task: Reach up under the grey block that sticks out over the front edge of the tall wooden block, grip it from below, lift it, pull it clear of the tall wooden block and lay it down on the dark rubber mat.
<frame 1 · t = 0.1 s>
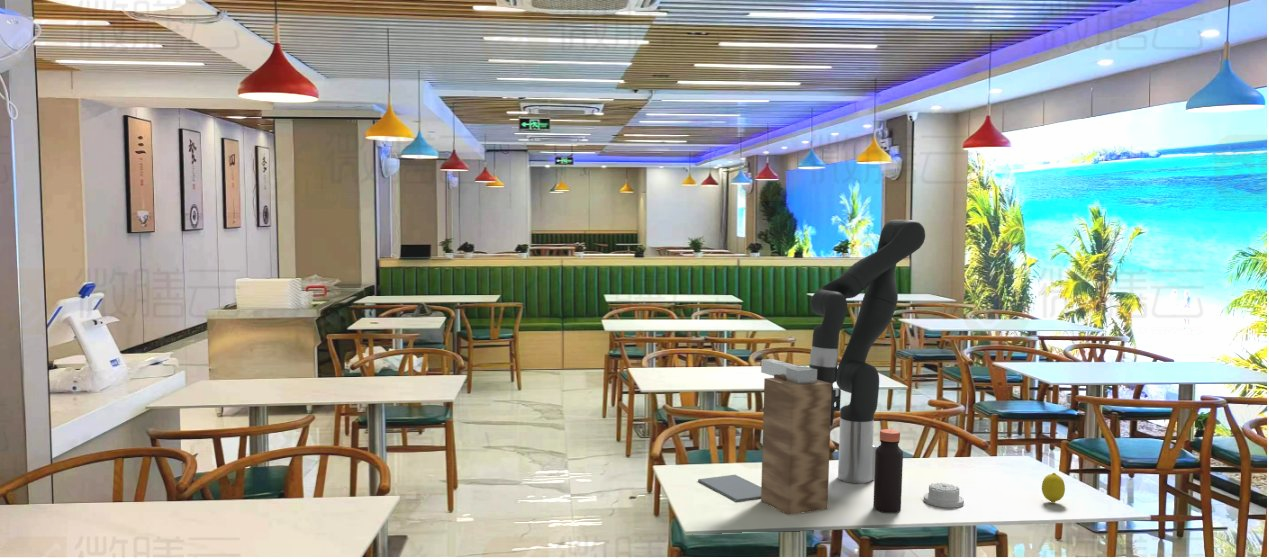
hand: (818, 422, 262), 17 cm above the table, tool pointing down, fingers open, 8 cm apart
bottle: (886, 509, 243), on the table
grey cake on plate: (943, 503, 250), on the table
tall wooden block: (793, 505, 244), on the table
mat: (736, 488, 258), on the table
lemon: (1052, 503, 250), on the table
grey block: (786, 377, 247), point 32 cm above the table, touching tall wooden block
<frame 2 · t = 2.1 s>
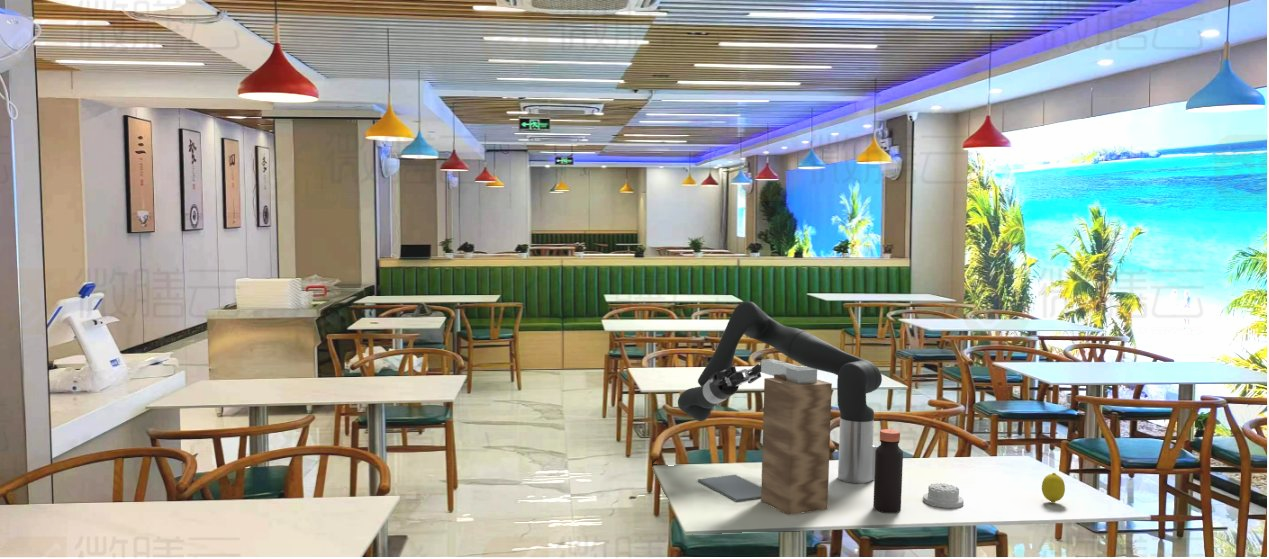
hand: (747, 368, 266), 31 cm above the table, tool pointing upward, fingers open, 8 cm apart
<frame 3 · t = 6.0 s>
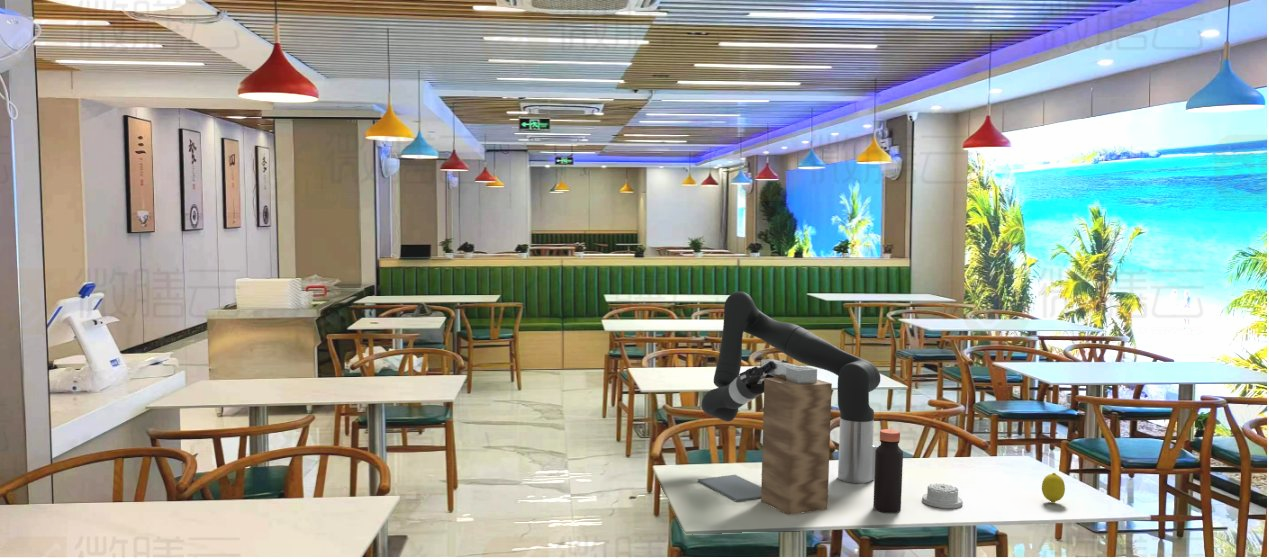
hand: (779, 363, 249), 35 cm above the table, tool pointing upward, fingers closed on grey block, 3 cm apart
grey block: (786, 377, 247), point 32 cm above the table, touching gripper, tall wooden block
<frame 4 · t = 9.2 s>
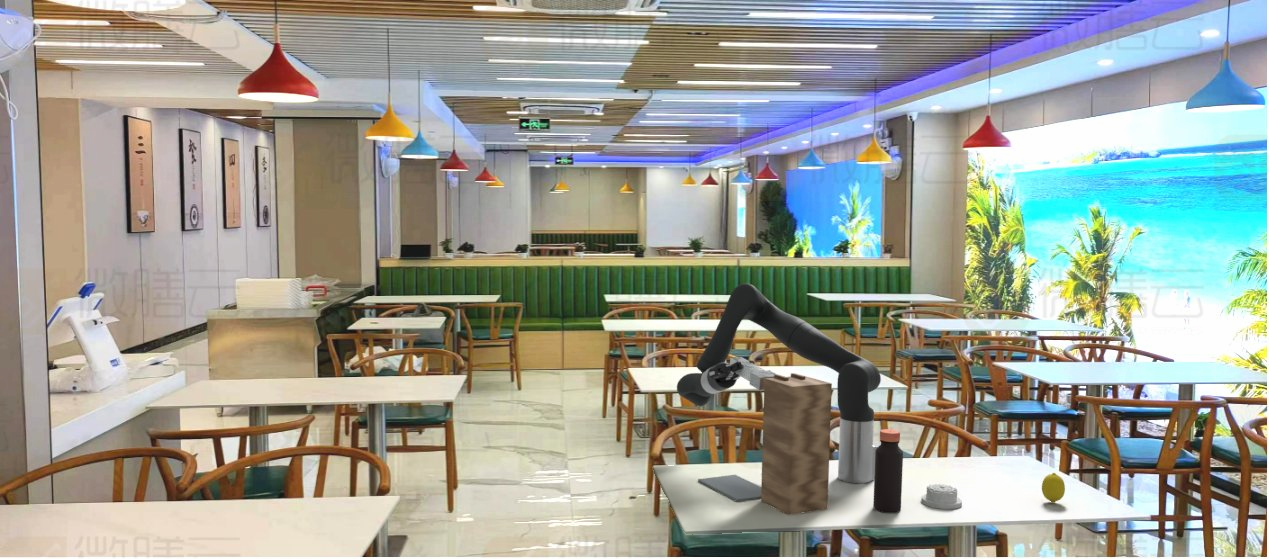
hand: (746, 364, 259), 33 cm above the table, tool pointing upward, fingers closed on grey block, 3 cm apart
grey block: (751, 378, 257), point 30 cm above the table, tilted 8°, touching gripper
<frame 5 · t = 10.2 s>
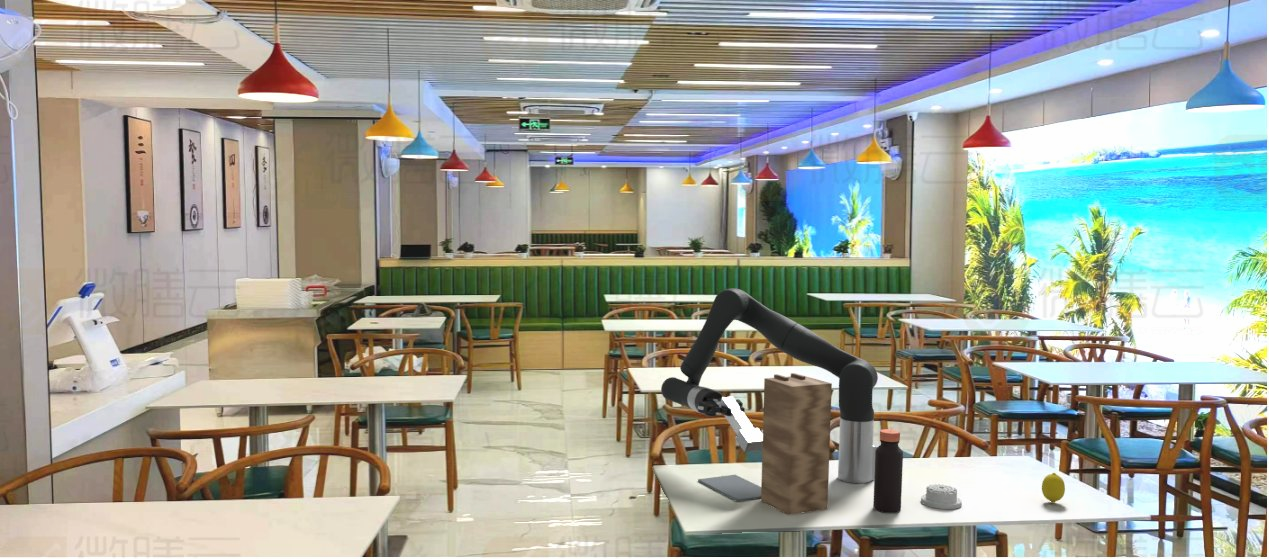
hand: (736, 412, 259), 20 cm above the table, tool horizontal, fingers closed on grey block, 3 cm apart
grey block: (738, 428, 258), point 16 cm above the table, tilted 29°, touching gripper
when the fingers open (12 cm above the table, at t = 12.2 s): grey block drops 7 cm, resting on mat.
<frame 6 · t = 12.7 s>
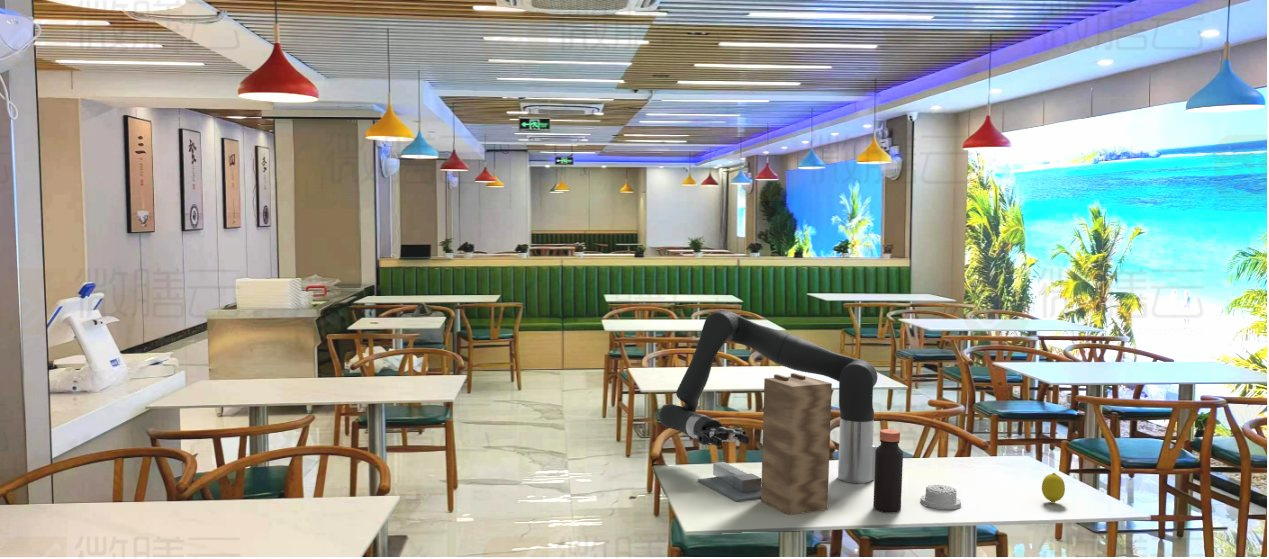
hand: (734, 441, 260), 12 cm above the table, tool horizontal, fingers open, 8 cm apart
grey block: (734, 482, 261), point 1 cm above the table, touching mat
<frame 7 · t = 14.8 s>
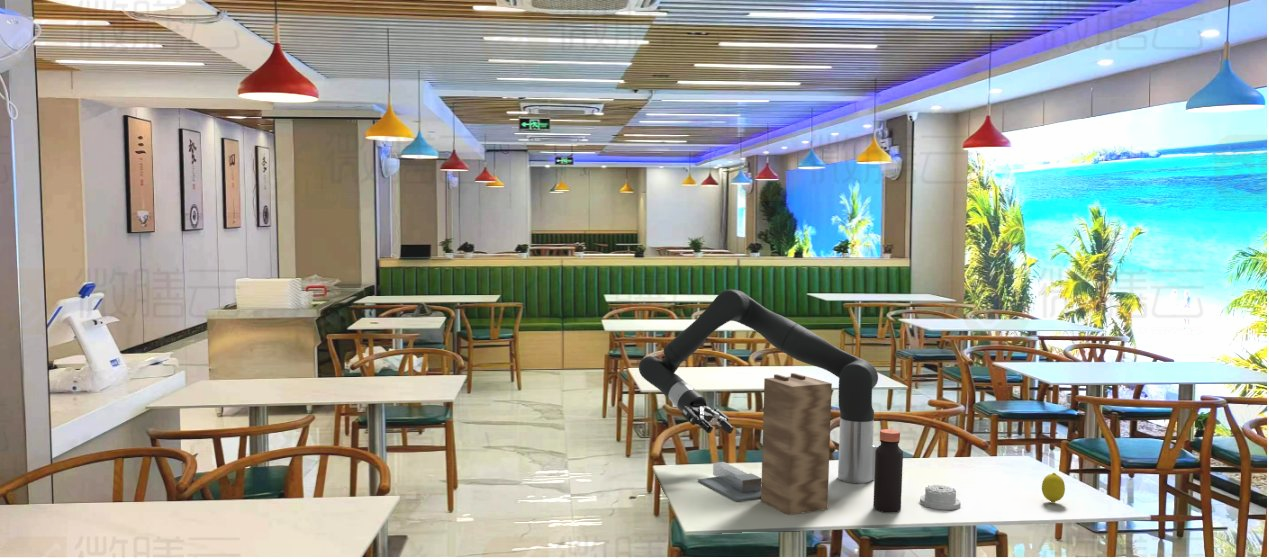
hand: (721, 430, 269), 13 cm above the table, tool tilted 65°, fingers open, 8 cm apart
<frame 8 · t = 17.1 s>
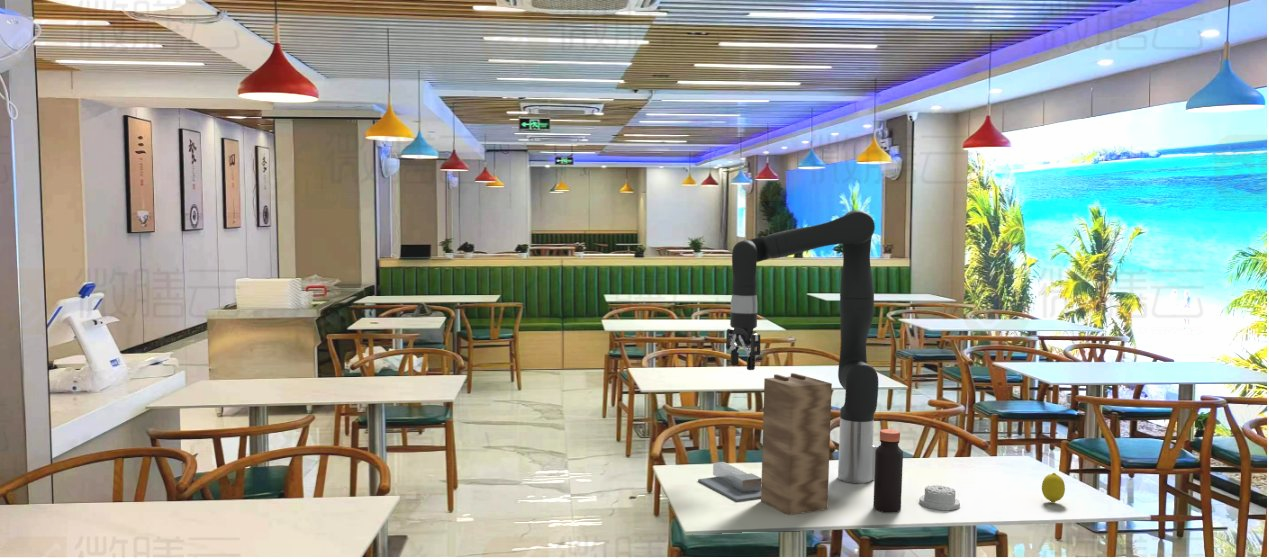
hand: (742, 367, 273), 30 cm above the table, tool pointing down, fingers open, 8 cm apart
at the end: grey block inside the target area (2.8 cm from its centre), point 0.6 cm above the table; the gripper is holding nothing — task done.
